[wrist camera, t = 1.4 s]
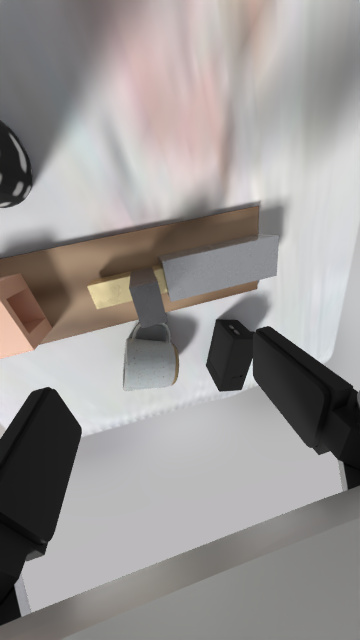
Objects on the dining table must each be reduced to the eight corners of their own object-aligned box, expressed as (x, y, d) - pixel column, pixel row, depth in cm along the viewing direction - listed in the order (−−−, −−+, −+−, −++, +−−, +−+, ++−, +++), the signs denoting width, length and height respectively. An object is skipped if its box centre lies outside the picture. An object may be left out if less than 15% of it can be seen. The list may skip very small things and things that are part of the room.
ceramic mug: (168, 367, 36) (176, 399, 29) (123, 367, 33) (120, 402, 27) (177, 316, 32) (188, 339, 25) (126, 313, 29) (124, 337, 23)
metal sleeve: (157, 255, 25) (162, 261, 21) (255, 234, 27) (279, 235, 23) (165, 290, 28) (170, 301, 23) (255, 268, 29) (276, 275, 25)
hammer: (90, 276, 24) (64, 303, 15) (249, 240, 26) (306, 246, 17) (102, 304, 26) (84, 343, 17) (249, 268, 28) (301, 286, 19)
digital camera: (230, 364, 39) (247, 390, 33) (205, 365, 37) (219, 392, 31) (243, 319, 35) (266, 339, 28) (216, 319, 33) (234, 339, 27)
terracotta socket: (-24, 282, 22) (-67, 297, 18) (20, 273, 23) (-11, 285, 18) (15, 337, 26) (-12, 361, 21) (52, 328, 27) (34, 350, 22)
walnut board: (-29, 264, 22) (-36, 265, 22) (254, 206, 26) (258, 205, 25) (27, 344, 28) (23, 348, 27) (253, 287, 32) (257, 288, 31)
